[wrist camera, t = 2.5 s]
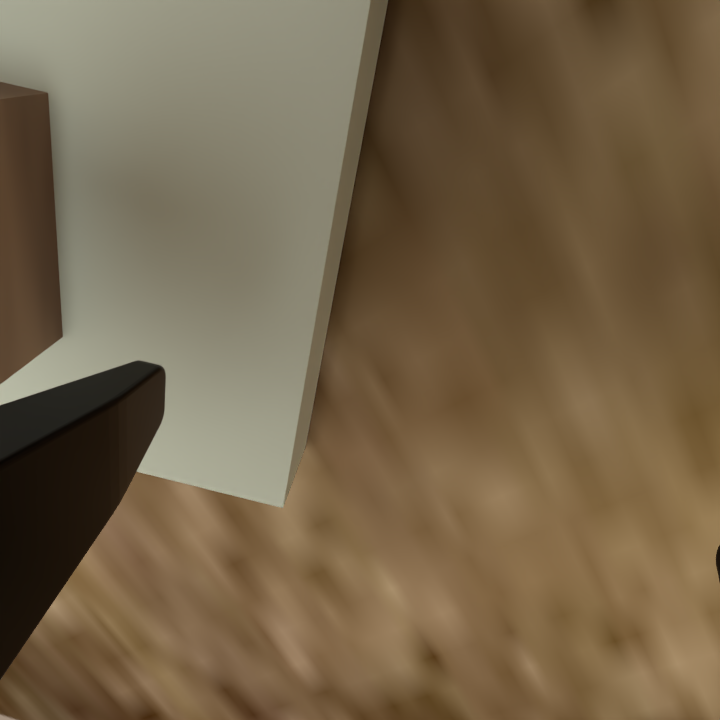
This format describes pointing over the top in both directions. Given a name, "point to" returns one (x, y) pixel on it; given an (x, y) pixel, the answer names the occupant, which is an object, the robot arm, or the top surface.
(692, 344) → the top surface
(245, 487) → the platform
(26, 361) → the walnut tile
